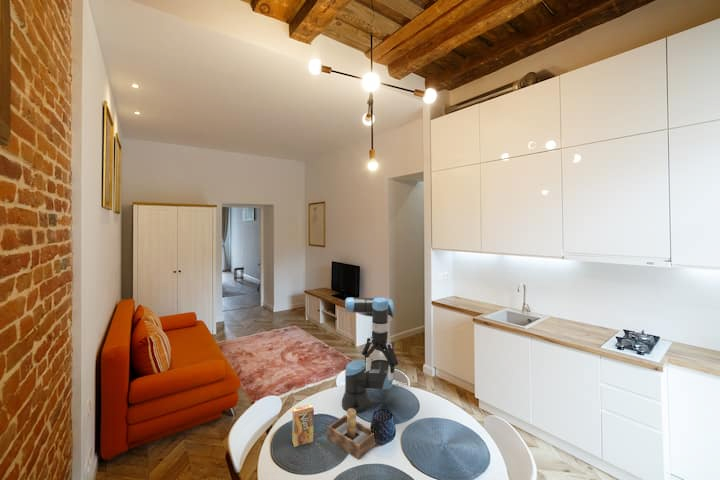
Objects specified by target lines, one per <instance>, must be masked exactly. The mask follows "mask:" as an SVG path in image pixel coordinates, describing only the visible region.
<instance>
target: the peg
mask: <svg viewBox="0 0 720 480" xmlns="http://www.w3.org/2000/svg"><path fill="white" fill-rule="evenodd" d="M346 413H347V414H346V416H347V437H348V438H350V439H351V440H354V439H355V438H356V421H357V413H356V410H355V409H353V408H350V409H348V410H347V411H346Z"/></svg>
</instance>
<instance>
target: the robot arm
mask: <svg viewBox="0 0 720 480" xmlns="http://www.w3.org/2000/svg"><path fill="white" fill-rule="evenodd" d="M344 309H345V311H346V312H347V313H357V314H358V315H362V316H365V317H371V318H372V322H371V323H372V324H371V330H372V331H371V336H370V337H368V338H367V339H366V344H365V346H364V347H363V350H362V352H361V355H363V356H364V360H362V359H359V360H352V361H350V362H349V363H347V364H346V366H345V372H344V374H345V378H344V379H345V381H344V382H345V384H344V385H345V386H344V387H345V389H344V394H343V397H342V400H341V407H342V409H343V410H344V411H345V412H347V410H348V409H350V408H353V409H355V410H356V414H357V413H362V412H366V411H367V410H368V409H369V407H370V400H369V396H368V391H367V389H374V390H375V389H376V390H377V389H378V390H391V388H393V382H394V373H395V367H396V366H398V365H399V360H398V358H397V355H396V353H395V350H394V344H393V343H392V342H391V343H390V329H391V328H390V325H391V324H390V322H392V320H393V318H394V317H395V306H394V302H393V300H392V299H391V298H386V297H383V296H379V297H375V298H374V297H352V296H351V297H346V298H345V301H344ZM372 353H374V354H373V359H371V357H372V356H371V354H372Z"/></svg>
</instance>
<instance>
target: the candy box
mask: <svg viewBox="0 0 720 480" xmlns="http://www.w3.org/2000/svg"><path fill="white" fill-rule="evenodd" d="M314 410H315V409H314V407H313V405H312V404H308V405H304V406H303V405H302V406H299V407H295V408H292V423H291V424H292V426H291V427H292V433H291V437H292V438H291V441H292V444H293V447H294V448H296V447H299V446H303V445H306V444H310V443H314V424H315V423H314V419H315V418H314V415H315V413H314V412H315V411H314Z"/></svg>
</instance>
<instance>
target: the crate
mask: <svg viewBox="0 0 720 480" xmlns="http://www.w3.org/2000/svg"><path fill="white" fill-rule="evenodd" d="M326 429H327V431H326V432H327V434H326V435H327V437H326V438H327V440H328V441H330V442H331V443H333V444H335V445H337V446H338V447H339V448H340V449H342V450H344V451H345V452H346V453H348V454H349V455H351V456H353V457H354V458H356V459H357V460H359V459H361V458H362V457H363V456H364V455H365V454H366V453H368V452H369V451H370V450H372V448H373V447H374V446H376V445H377V442H376V443H375V439H374V433H372V432H371V430H372V429H371V428H369V427H367V426H366V425H364V424H362V423H360V422H359V421H357V420H356V438H355V439H354V440H351V439H350V438H348V437H347V414H346V415H343V416H342V417H340V418H339V419H336V420H335V421H334V422H333V423H331V424H330V425H327V428H326Z"/></svg>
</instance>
